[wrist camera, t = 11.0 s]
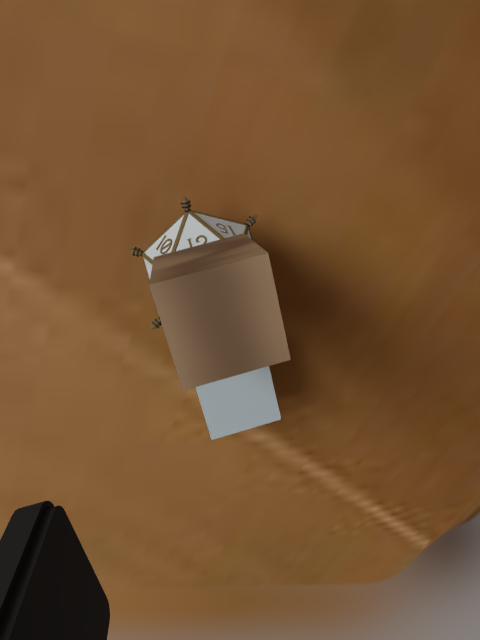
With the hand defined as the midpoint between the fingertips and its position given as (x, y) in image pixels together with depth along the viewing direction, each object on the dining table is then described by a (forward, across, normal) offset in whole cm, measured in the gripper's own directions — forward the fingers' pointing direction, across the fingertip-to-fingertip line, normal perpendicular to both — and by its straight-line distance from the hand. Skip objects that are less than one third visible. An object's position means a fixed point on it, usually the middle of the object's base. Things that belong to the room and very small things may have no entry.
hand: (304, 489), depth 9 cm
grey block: (+24, +1, +9) cm, 26 cm away
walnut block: (+16, +1, 0) cm, 16 cm away
